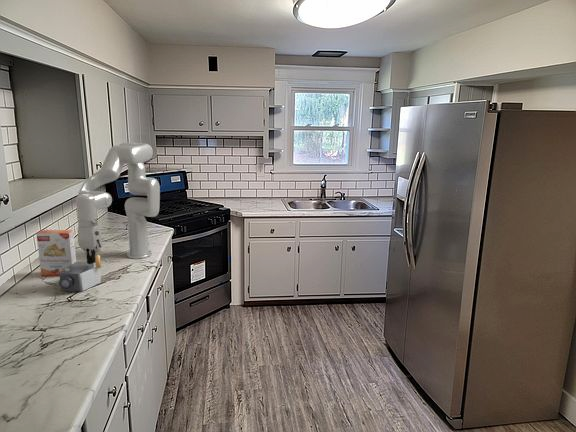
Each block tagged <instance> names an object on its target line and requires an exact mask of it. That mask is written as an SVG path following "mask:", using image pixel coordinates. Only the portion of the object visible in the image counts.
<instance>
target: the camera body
mask: <svg viewBox="0 0 576 432" xmlns="http://www.w3.org/2000/svg"><path fill="white" fill-rule="evenodd" d="M94 264H95V263H92V264H87V261H76V262H75V263H73V264H72V265H70V266H69V267H68V268H66V269H65V270H63V271H62V272H60V273H59V275H58V277H59V286H60V291H61V292H80V288H79V278H78V274H79V273H83V272H85V271H88V270H90V269H93V268H95V266H94Z"/></svg>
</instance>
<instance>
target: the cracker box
mask: <svg viewBox="0 0 576 432" xmlns="http://www.w3.org/2000/svg"><path fill="white" fill-rule="evenodd" d="M36 240H37V249H38V251H37V252H38V259H39V265H40V266H39V267H40V274H41V276H42V277H43V276H44V277H47V276H48V277H49V276H53V277H54V276H55V277H56V276H57V277H58V276H59V273H60V272H62V271H63V270H65V269H66V268H68V267H69V266H70V265H72V264H73V263H75V262H77V253H76V244H75V243H76V242H75V233H74V229H66V230H65V229H41V230H40V231H38V232H37V233H36Z"/></svg>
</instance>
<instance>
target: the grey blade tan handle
mask: <svg viewBox="0 0 576 432" xmlns="http://www.w3.org/2000/svg"><path fill="white" fill-rule="evenodd" d="M101 268H102V262H101V255H100V254H95V266H94V268H93V269H90V270H88V271H85V272H83V273H79V274H78V278H79V288H80V291H79V292H80V293H81V292H84V291H85V290H88V289H90V288H92V287H94V286H96V285H98V284H101V283H102V277H101V276H102V275H101Z"/></svg>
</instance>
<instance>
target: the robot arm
mask: <svg viewBox="0 0 576 432" xmlns="http://www.w3.org/2000/svg"><path fill="white" fill-rule="evenodd" d="M153 154H154V150H153V147H152V146H151V145H150V144H149V143H145V142H144V143H139V142H122V143H120V144H118V145H113V146H111V147H110V149H109V150H108V152H107V154H106V156H105V159H104V161H103V163H102V165H101V167H100V169H99V170H97V171H96V172H94V173H93V174H92V175H90V176H89V177H87V179H85V180H84V181H83V183H82V185H81V187H80V188H79V192H78V193H77V196H76V198H75V205H76V212H77V213H76V215H77V224H78V226H77V242H78V243H77V245H78V247H80V249H81V250H83V251H84V255H86V256H85V257H86V262H87V264H92V263H94V264H96V262H95V255H97V253H100V252H101V248H103V244H104V243H103V238H102V233H101V228H100V226H99V223H98V214H97V213H98V211H97V210H104V209H107V208H109V207H110V206H111V205H112V202H113V197H112V195H111V194H110V193H109V192H106V191H99V190H97V188H99V187H101V186H102V185H106V184H109V183H112V182H114V181H116V180H118V179H119V178H120V175H121V173H122V170H123V168H124V166H125V165H126V166H127V187H128V188H127V190H128V192H129V193H130V194H131V195H134V196H135V195H136V196H135V197H129V198H127V199H126V200H125V203H124V210H125V214H126V218H127V226H128V227H127V229H128V243H129V244H128V245H129V251H128V252H127V253H126V257H127V258H129V259H134V260H135V259H139V260H140V259H145V258H148V257H151V256H152V254H153V252H152V251H151V249H149V245H150V244H149V236H148V232H149V231H148V222H147V219H146V218H145V217H151V218H152V217H153V218H154V217H156V216H158V215H159V212H160V203H161V201H160V200H161V195H160V194H161V190H160V189H161V187H160V183H159V181H158V179H157V178H154V177H146V176H147V175H146V166H145V162H149V161H150V160H151V159H152V157H153ZM137 196H145V197H137Z"/></svg>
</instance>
